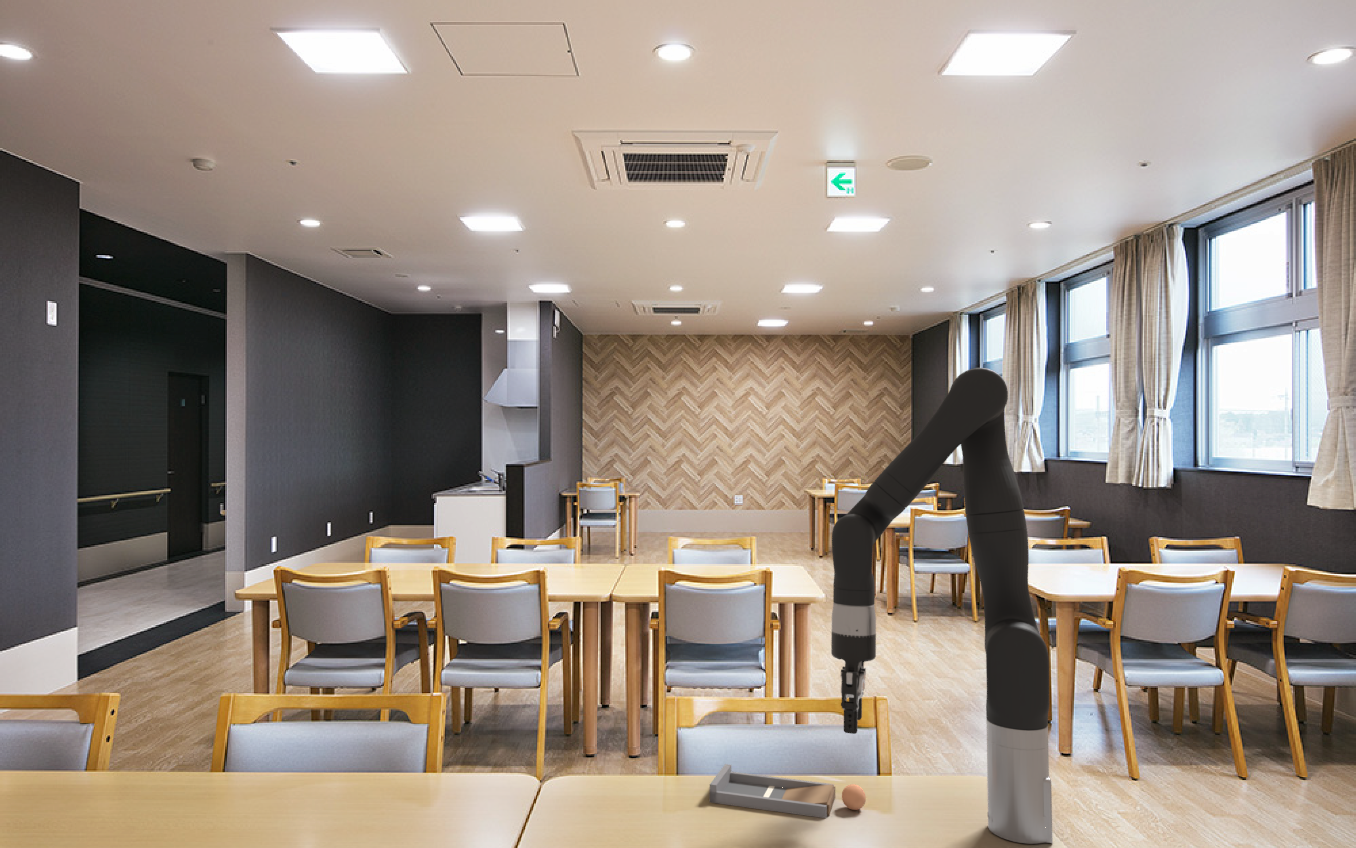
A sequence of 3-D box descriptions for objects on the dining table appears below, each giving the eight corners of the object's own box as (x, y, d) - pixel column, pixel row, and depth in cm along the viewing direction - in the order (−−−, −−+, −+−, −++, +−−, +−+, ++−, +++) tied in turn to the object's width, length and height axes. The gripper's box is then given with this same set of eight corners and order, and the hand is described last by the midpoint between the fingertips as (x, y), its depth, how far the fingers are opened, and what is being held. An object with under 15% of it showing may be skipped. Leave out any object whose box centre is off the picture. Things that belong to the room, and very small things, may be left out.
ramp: (835, 801, 142) (835, 784, 142) (829, 820, 134) (829, 802, 134) (786, 795, 145) (786, 778, 145) (778, 813, 137) (778, 795, 137)
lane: (833, 794, 143) (833, 777, 144) (826, 818, 133) (826, 799, 133) (724, 780, 149) (725, 764, 150) (709, 802, 139) (709, 784, 139)
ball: (866, 806, 138) (866, 782, 139) (864, 815, 134) (864, 790, 135) (843, 803, 139) (843, 779, 140) (840, 812, 136) (840, 787, 136)
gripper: (872, 638, 131) (872, 740, 130) (878, 624, 145) (878, 717, 144) (826, 635, 134) (825, 735, 132) (836, 621, 147) (835, 712, 146)
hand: (853, 725), depth 138 cm, fingers open, 8 cm apart
